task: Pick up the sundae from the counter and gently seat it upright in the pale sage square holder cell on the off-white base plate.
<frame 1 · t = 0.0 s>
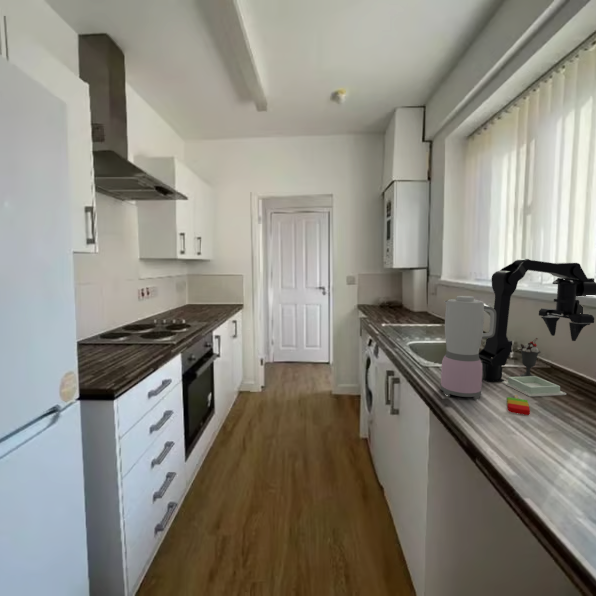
hand: (563, 338, 135), 15 cm above the table, tool pointing down, fingers open, 9 cm apart
sundae: (527, 377, 136), on the table
blender: (465, 394, 118), on the table
popsicle: (517, 406, 110), on the table
holder cell: (532, 388, 123), on the table
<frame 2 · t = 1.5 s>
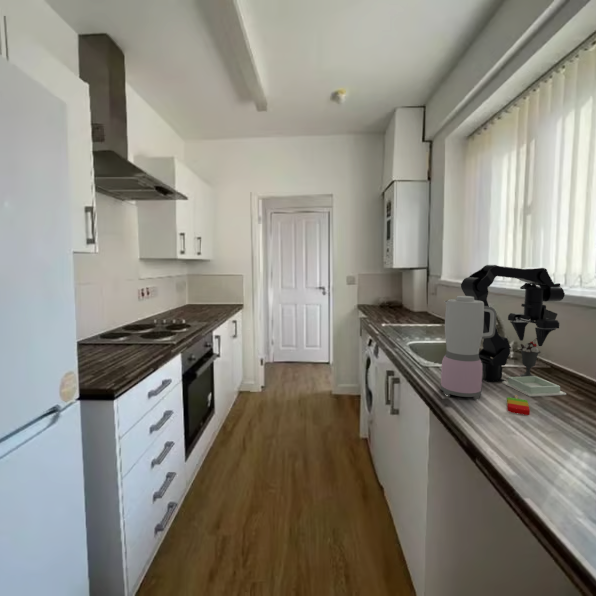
hand: (530, 343, 134), 13 cm above the table, tool pointing down, fingers open, 9 cm apart
nothing on the table moved.
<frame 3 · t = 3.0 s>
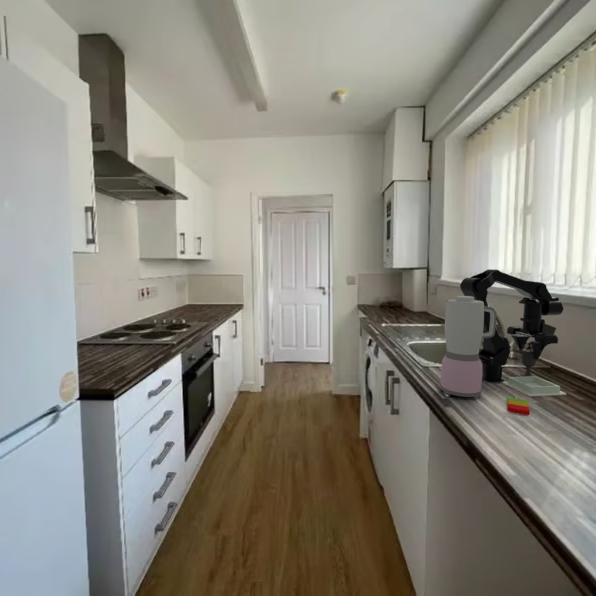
hand: (529, 357, 135), 8 cm above the table, tool pointing down, fingers closed on sundae, 6 cm apart
sundae: (528, 377, 136), on the table, touching gripper
everything else where it was.
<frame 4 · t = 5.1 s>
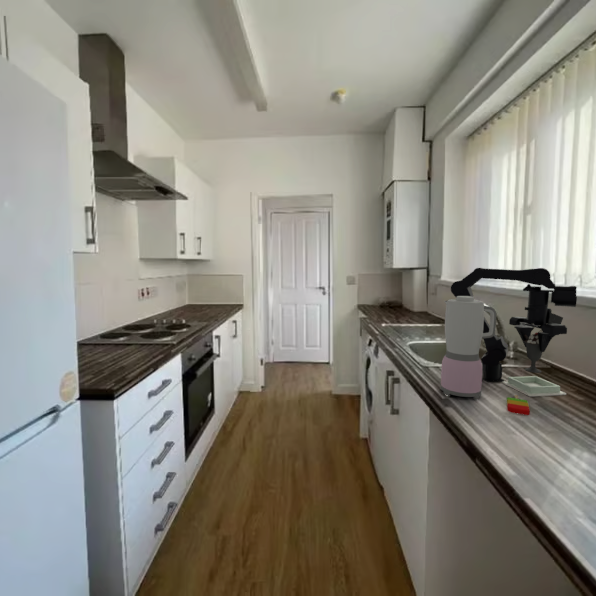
hand: (534, 349, 124), 13 cm above the table, tool pointing down, fingers closed on sundae, 6 cm apart
sundae: (532, 371, 125), point 5 cm above the table, touching gripper
everything else where it was.
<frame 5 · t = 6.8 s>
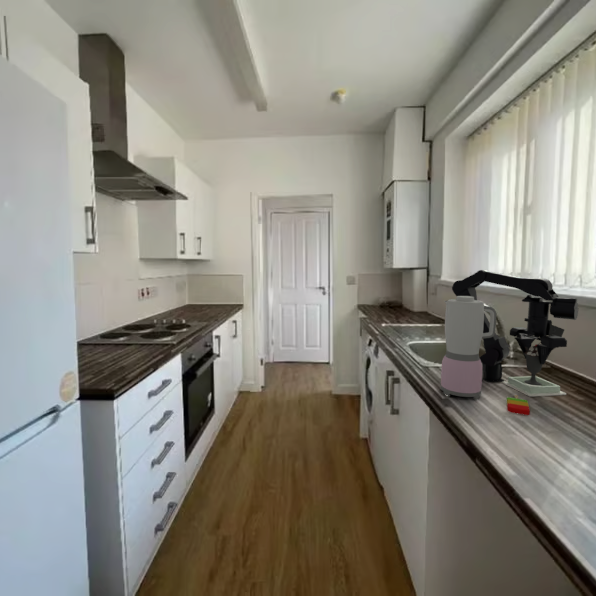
hand: (534, 361, 122), 9 cm above the table, tool pointing down, fingers closed on sundae, 6 cm apart
sundae: (532, 383, 123), point 2 cm above the table, touching gripper
everything else where it was.
when the fingers open (9 cm above the table, at t = 7.1 s): sundae drops 1 cm, resting on holder cell.
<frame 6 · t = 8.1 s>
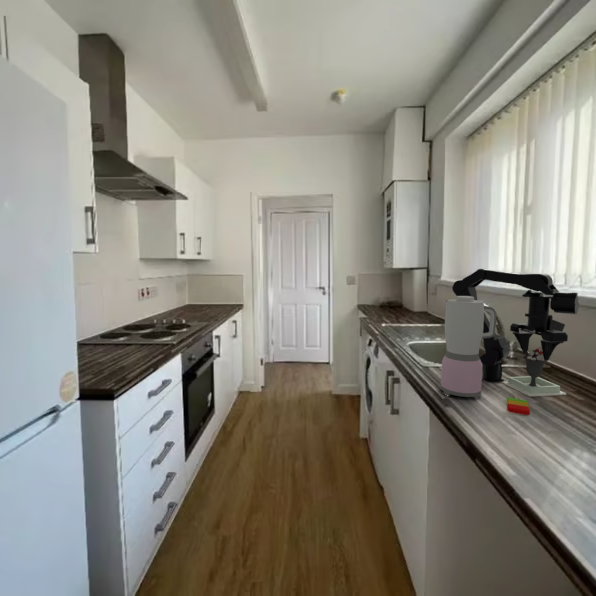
hand: (535, 356, 122), 11 cm above the table, tool pointing down, fingers open, 9 cm apart
sundae: (532, 387, 123), resting on holder cell
everything else where it was.
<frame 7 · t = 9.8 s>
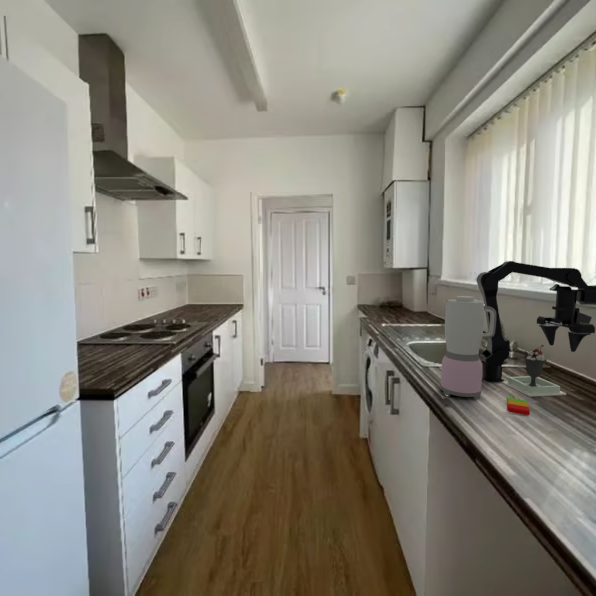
hand: (562, 348, 126), 13 cm above the table, tool pointing down, fingers open, 9 cm apart
nothing on the table moved.
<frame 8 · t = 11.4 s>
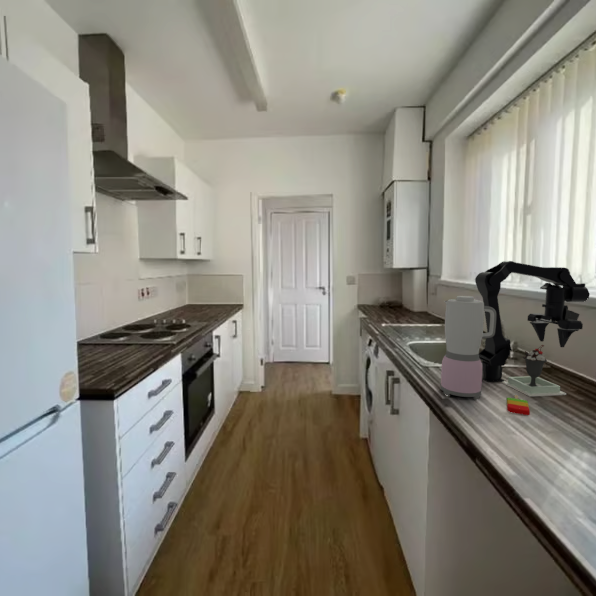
hand: (551, 344, 132), 13 cm above the table, tool pointing down, fingers open, 9 cm apart
nothing on the table moved.
at the end: sundae 0.2 cm off-centre on the holder cell, point 0.3 cm above the holder cell's base; sundae tilted 0°; the gripper is holding nothing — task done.
